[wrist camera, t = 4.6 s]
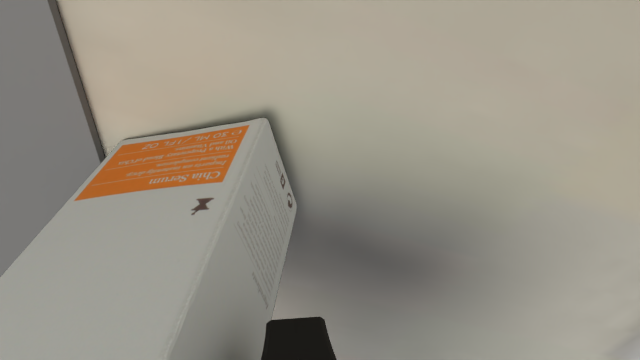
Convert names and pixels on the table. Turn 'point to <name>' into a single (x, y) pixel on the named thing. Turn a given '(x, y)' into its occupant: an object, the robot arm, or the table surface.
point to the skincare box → (158, 254)
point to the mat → (39, 124)
